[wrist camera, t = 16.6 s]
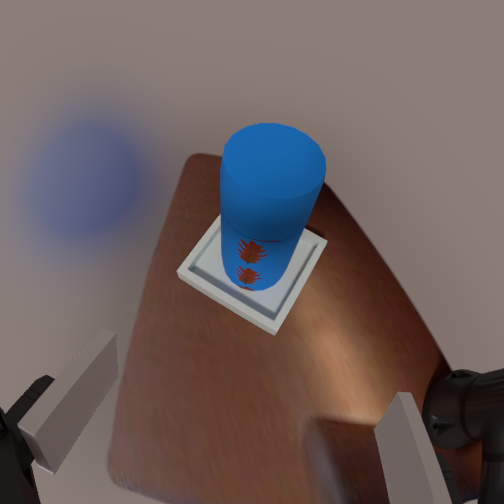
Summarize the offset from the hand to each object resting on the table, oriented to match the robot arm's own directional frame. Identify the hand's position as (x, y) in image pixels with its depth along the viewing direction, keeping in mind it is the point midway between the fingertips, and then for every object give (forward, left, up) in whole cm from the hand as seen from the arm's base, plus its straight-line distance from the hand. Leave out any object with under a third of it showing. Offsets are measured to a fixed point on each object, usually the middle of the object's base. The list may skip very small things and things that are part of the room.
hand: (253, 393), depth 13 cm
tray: (+9, -20, -35) cm, 41 cm away
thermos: (+9, -20, -34) cm, 41 cm away
